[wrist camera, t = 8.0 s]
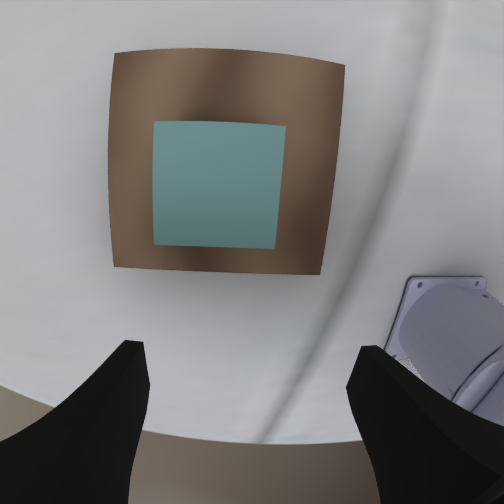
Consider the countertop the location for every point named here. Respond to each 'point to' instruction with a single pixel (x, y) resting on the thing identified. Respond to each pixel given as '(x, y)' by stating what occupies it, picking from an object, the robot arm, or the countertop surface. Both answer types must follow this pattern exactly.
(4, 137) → the countertop surface
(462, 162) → the countertop surface
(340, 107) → the walnut plinth
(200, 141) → the teal block
